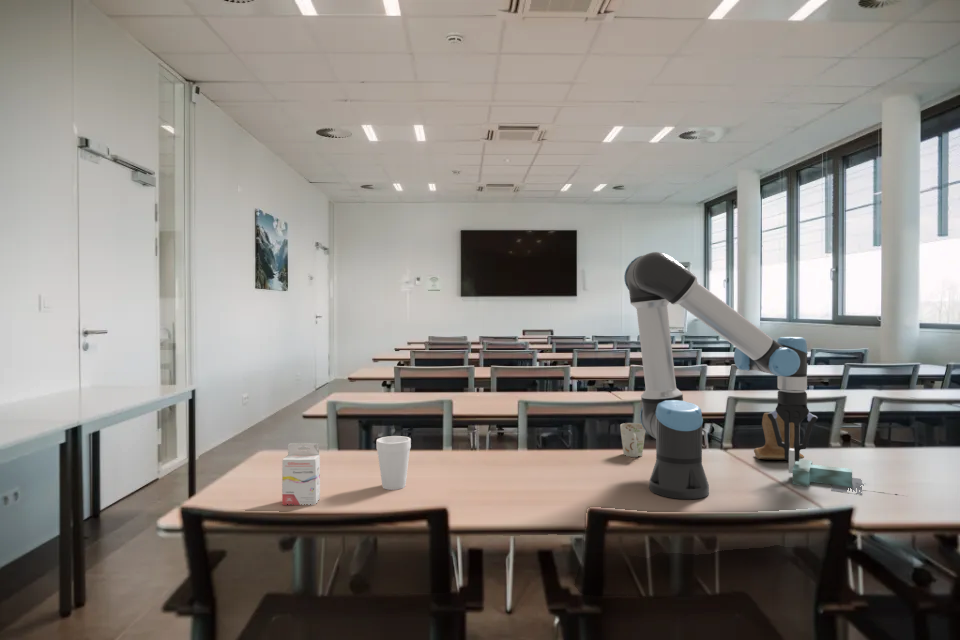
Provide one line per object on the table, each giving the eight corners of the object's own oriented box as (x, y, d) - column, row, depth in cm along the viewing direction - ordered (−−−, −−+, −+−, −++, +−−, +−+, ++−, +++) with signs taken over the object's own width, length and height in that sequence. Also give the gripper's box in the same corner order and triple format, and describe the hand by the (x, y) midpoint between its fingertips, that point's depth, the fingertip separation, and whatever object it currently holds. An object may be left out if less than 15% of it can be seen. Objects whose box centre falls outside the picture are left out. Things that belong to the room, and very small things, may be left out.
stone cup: (790, 454, 199) (791, 409, 199) (809, 463, 187) (809, 415, 187) (744, 453, 200) (745, 409, 199) (760, 462, 188) (760, 415, 188)
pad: (831, 490, 159) (831, 490, 159) (833, 475, 173) (833, 475, 173) (909, 501, 150) (909, 501, 150) (904, 484, 164) (904, 484, 164)
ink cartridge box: (281, 506, 149) (280, 447, 148) (287, 499, 154) (286, 443, 153) (316, 505, 149) (315, 447, 149) (320, 499, 154) (320, 442, 154)
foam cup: (378, 492, 159) (378, 444, 159) (375, 482, 168) (374, 437, 168) (413, 489, 162) (413, 442, 161) (408, 480, 170) (408, 435, 170)
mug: (643, 452, 202) (643, 423, 202) (650, 461, 190) (650, 430, 190) (618, 451, 203) (618, 422, 203) (623, 461, 191) (623, 430, 190)
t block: (792, 484, 165) (792, 469, 165) (796, 472, 177) (796, 458, 177) (852, 491, 158) (852, 476, 158) (852, 478, 169) (852, 464, 169)
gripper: (818, 390, 171) (818, 471, 171) (768, 387, 178) (768, 465, 178) (817, 393, 165) (817, 478, 165) (765, 390, 171) (765, 471, 172)
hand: (792, 471), depth 172 cm, fingers closed
